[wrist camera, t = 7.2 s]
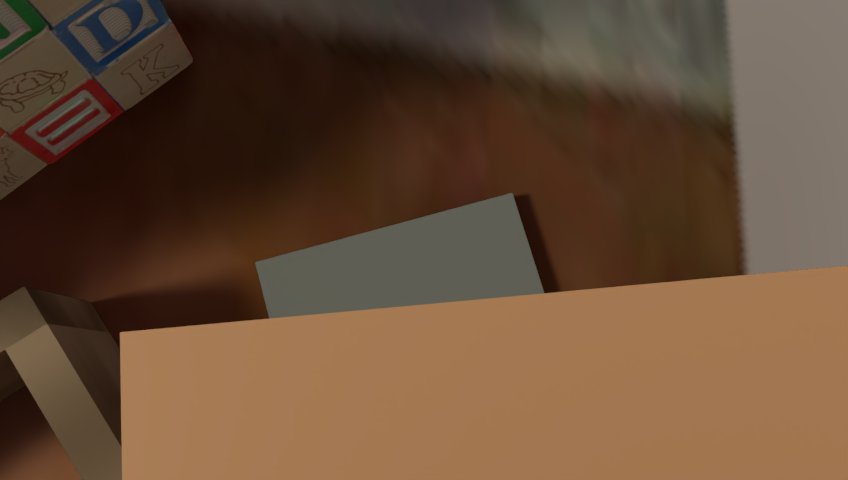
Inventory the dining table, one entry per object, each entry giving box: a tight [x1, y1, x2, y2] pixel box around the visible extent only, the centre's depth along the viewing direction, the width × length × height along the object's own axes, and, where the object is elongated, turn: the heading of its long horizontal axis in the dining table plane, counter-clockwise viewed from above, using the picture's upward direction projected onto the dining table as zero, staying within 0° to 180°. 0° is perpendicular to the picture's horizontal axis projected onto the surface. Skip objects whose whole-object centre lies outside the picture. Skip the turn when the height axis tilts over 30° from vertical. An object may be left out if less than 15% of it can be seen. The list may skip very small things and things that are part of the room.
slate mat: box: [255, 193, 544, 319], centre depth 23 cm, size 14×9×1 cm, turn 16°
